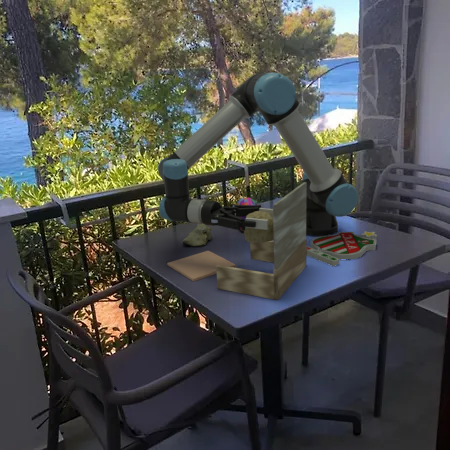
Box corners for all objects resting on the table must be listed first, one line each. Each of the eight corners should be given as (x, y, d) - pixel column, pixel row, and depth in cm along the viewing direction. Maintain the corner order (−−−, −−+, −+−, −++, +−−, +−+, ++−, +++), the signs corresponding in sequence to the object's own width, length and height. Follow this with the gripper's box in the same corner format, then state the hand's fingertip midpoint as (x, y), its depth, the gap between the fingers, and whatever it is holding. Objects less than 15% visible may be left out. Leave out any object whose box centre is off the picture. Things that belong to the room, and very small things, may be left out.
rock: (182, 251, 169) (209, 246, 167) (178, 234, 167) (205, 230, 166) (188, 240, 179) (213, 236, 177) (184, 225, 177) (210, 220, 176)
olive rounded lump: (275, 252, 137) (288, 220, 137) (250, 241, 131) (263, 208, 132) (256, 246, 144) (268, 216, 145) (231, 235, 138) (244, 204, 139)
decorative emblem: (293, 244, 161) (354, 225, 177) (293, 250, 162) (354, 231, 177) (334, 261, 146) (396, 239, 162) (334, 268, 147) (396, 245, 162)
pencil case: (263, 232, 179) (263, 210, 177) (239, 234, 179) (238, 211, 176) (257, 215, 200) (257, 195, 197) (235, 216, 200) (234, 196, 197)
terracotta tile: (208, 252, 163) (208, 250, 163) (235, 267, 150) (235, 264, 150) (167, 265, 154) (167, 262, 154) (193, 281, 142) (192, 279, 142)
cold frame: (217, 288, 137) (212, 198, 128) (252, 257, 157) (249, 178, 148) (278, 300, 128) (276, 205, 120) (306, 266, 149) (307, 182, 140)
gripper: (222, 213, 155) (287, 220, 145) (188, 235, 137) (259, 245, 127) (221, 191, 153) (287, 196, 143) (185, 211, 135) (258, 218, 125)
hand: (274, 219), depth 135 cm, fingers closed on olive rounded lump, 9 cm apart
